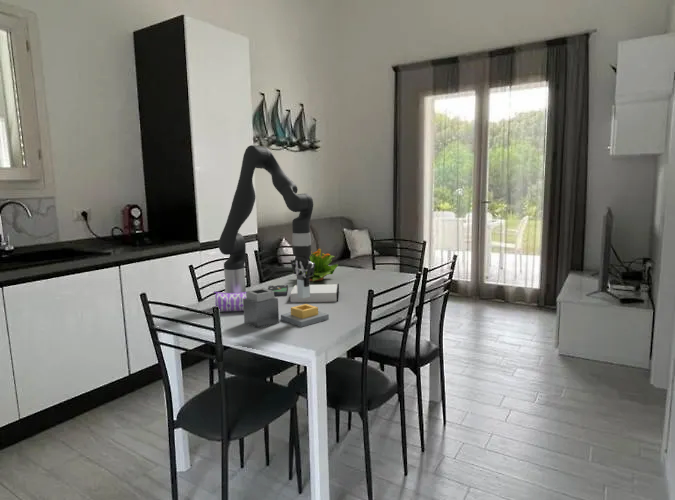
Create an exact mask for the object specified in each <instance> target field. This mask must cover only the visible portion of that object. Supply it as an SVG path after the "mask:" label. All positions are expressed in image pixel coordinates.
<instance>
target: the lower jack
mask: <svg viewBox="0 0 675 500" xmlns="http://www.w3.org/2000/svg"><path fill="white" fill-rule="evenodd" d="M280 320H282V321H284V322H287V323H290V324H292V325H294V326H298V327H300V328H303V327H306V326H309V325H312V324H317V323H319V322H323V321H327V320H330V319H329V313H326V312H322V311H320V310H319V307H318V306H314V305H311V304H309V303H303V304H300V305H296V306H291V307H290V312H286V313H282V314H280Z"/></svg>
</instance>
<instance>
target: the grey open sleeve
mask: <svg viewBox="0 0 675 500" xmlns="http://www.w3.org/2000/svg"><path fill="white" fill-rule="evenodd" d="M246 297H247V298H245V299H243V305H244V311H243V319H244V322H243V323H244V324H247V325H248V324H249V326H251V327H253V328H256V329H261V328H264V327H268V326H272V325H276V324H279V323H280V319H279V318H280V316H279V315H280V312H279V298H278V297H276V296H274V291H271V290H268V288H264V287H263V288H258V289H257V288H256V289H252V290H246Z"/></svg>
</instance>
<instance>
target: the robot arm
mask: <svg viewBox="0 0 675 500" xmlns="http://www.w3.org/2000/svg"><path fill="white" fill-rule="evenodd" d="M241 162H242V163H241V168H240V173H239V178H238V182H237V186H236V190H235V192H234V195H233V199H232V202H231V207H230V210H229V213H228V216H227V219H226V222H225V224H224V227H223V230H222V231H221V235H220V237H219V240H218V249H219V251H220V253H222V254H223V255H224V256H225V255H229V256H228V258H227V260H225V262H223V271H224V273H223V274H224V293H241V292H247V290H246V287H247V286H246V276H245V275H246V274H245V263H246V257H247V255H246V254H247V253H246V250H247V249H246V246H247V245H246V240H245V237H244V236H243V234H241V233H240V232H239V231H240V228H241V227H242V225H243V224H244V223H245V222H246V220H247V219H248V218H249V216H250V215H251V213H252V211H253V209H254V204H255V202H256V191H255V188H254V184H253V177H254V173H255V169H263V170H265V171H266V172H268V174H269V175H270V177H271V182H272V185H273V186H274V188H275V190H276V191H277V192H279V194H280V195H281V197H282V198H283V201H284V203H285V205H286V207H287V209H288V210H289V211H291V212H293V213H299V214H298V216H297V217H295V218H293V220H292V222H291V225H292V226H291V228H292V237H291V239H292V241H291V243H292V256H293V257H294V259H290V265H291V268H292V273H293V274H294V275H295V276H296V277H297V275H301V274H303V275H304V287H308V286H309V282H310V281H309V277H311V276H313V273H314V268H315V263H312V262H311V260H310V256H311V254H313V251H312V236H311V225H310V223H311V218H312V214H313V209H314V201H313V200H314V199H313V197H312V196H311V195H310V194H309V193H298V186H297V184H296V183H295V182H294V181H293V180H292V179H291V177H289V176H288V175H287V174H286V172H285V171H284V170H283V168H282V167H281V165H280V164H279V162H278V161H277V159H276V157H275V155H274V153H273V152H272V151H271V150H270V149H269V148H268V147H266V146H259V145H254V144H252V145H249V146H247V147H246V148H245V150H244V153H243V158H242V161H241ZM304 269H307V270H304ZM306 272H307V274H306ZM310 272H311V273H310Z"/></svg>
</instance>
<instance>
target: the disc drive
mask: <svg viewBox="0 0 675 500" xmlns="http://www.w3.org/2000/svg"><path fill="white" fill-rule="evenodd" d="M339 295H340V283H337V284H336V283H335V284H334V283H333V284H310V297H307V298H300V297H298V292H297V284H295V285H294V286H293V288H292V290H291V292H290V295H289V296H290V303H314V302H315V303H318V302H319V303H321V302H325V303H326V302H328V303H329V302H339Z"/></svg>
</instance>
